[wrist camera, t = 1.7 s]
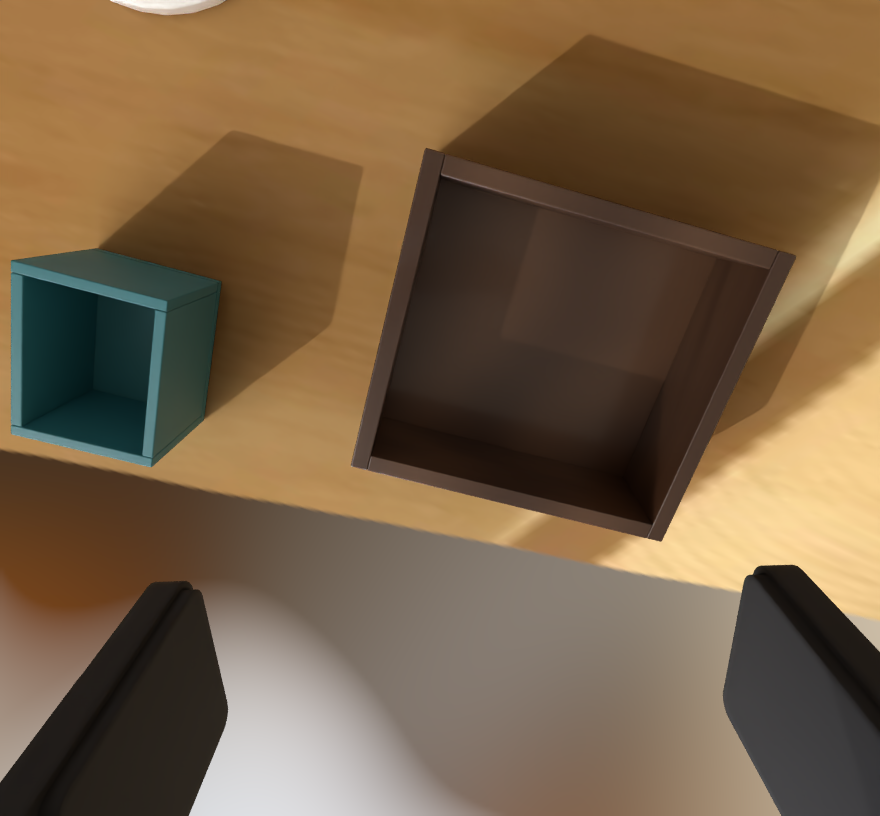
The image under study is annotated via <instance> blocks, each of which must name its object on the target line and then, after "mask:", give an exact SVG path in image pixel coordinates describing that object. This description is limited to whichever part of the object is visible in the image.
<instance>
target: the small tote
mask: <svg viewBox="0 0 880 816" xmlns="http://www.w3.org/2000/svg"><path fill="white" fill-rule="evenodd" d="M11 272H12V273H11V424H12V425H11V434H13V435H17V436H21V437H26V438H30V439H34V440H38V441H42V442H47V443H51V444H55V445H59V446H64V447H68V448H72V449H76V450H80V451H85V452H89V453H93V454H97V455H102V456H106V457H110V458H114V459H118V460H123V461H127V462H131V463H135V464H140V465H144V466H148V467H152V466H154V465H155V464H156V463H157V462H158V461H159V460H160V459H161V458H162V457H163V456H165V455H166V454H167V453H168V452H169V451H170V450H171V449H172V448H173V447H175V446H176V445H177V444H178V443H179V442H180V441H181V440H182V439H183V438H185V437H186V436H187V435H188V434H189V433H190V432H191V431H192V430H193V429H194V428H196V427H197V426H198V425H199V424H200V423H201V422H202V421H203V420H204V415H205V407H206V399H207V392H208V384H209V376H210V368H211V361H212V353H213V345H214V337H215V329H216V322H217V314H218V306H219V298H220V291H221V283H222V282H221V281H219V280H215V279H211V278H207V277H204V276H200V275H196V274H192V273H188V272H185V271H181V270H177V269H173V268H170V267H166V266H162V265H158V264H154V263H151V262H147V261H143V260H139V259H135V258H132V257H128V256H124V255H120V254H117V253H113V252H109V251H105V250H101V249H98V248H95V249H89V250H81V251H74V252H67V253H60V254H53V255H46V256H39V257H32V258H24V259H17V260H12V261H11Z"/></svg>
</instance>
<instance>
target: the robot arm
mask: <svg viewBox="0 0 880 816" xmlns="http://www.w3.org/2000/svg"><path fill="white" fill-rule="evenodd" d="M111 1H112V2H115V3H118V4H121V5H124V6H126V7H129V8H132V9H135V10H137V11H141V12H148V13H155V14H162V15H175V14H187V13H195V12H198V11H201V10H204V9H207V8H210V7H213V6H216V5H219V4H221V3H223V2H224V1H226V0H111ZM723 701H724V706H725V710H726V713H727V715H728V717H729V719H730V721H731V723H732V725H733V727H734V729H735V731H736V732H737V734H738V736H739V738H740V740H741V741H742V743H743V745H744V747H745V749H746V751H747V753H748V755H749V756H750V758H751V760H752V762H753V764H754V766H755V768H756V769H757V771H758V773H759V775H760V777H761V779H762V780H763V782H764V784H765V786H766V788H767V790H768V792H769V793H770V795H771V797H772V799H773V801H774V803H775V805H776V806H777V808H778V810H779V812H780V814H781V816H880V652H879V651H878V650H877V649H876V648H875V646H874V645H873V644H872V643H871V642H870V641H869V640H868V639H867V638H866V637H865V636H864V635H863V634H862V633H861V632H860V631H859V630H858V629H857V627H856V626H855V625H854V624H853V623H852V622H851V621H850V620H849V619H848V618H847V617H846V616H845V615H844V614H843V613H842V612H841V610H840V609H839V608H838V607H837V606H836V605H835V604H834V603H833V602H832V601H831V600H830V599H829V598H828V597H827V596H826V595H825V594H824V592H823V591H822V590H821V589H820V588H819V587H818V586H817V585H816V584H815V583H814V582H813V581H812V580H811V579H810V578H809V577H808V576H807V575H806V573H805V572H804V571H803V570H802V569H800V568H799V567H798V566H795V565H770V566H759V567H757V568H756V569H755V570H754V573H753V575H748V576H747V577H746V578H745V580H744V584H743V590H742V595H741V600H740V606H739V611H738V616H737V622H736V627H735V632H734V637H733V643H732V649H731V654H730V659H729V664H728V670H727V675H726V680H725V685H724V690H723ZM227 714H228V705H227V699H226V695H225V691H224V686H223V682H222V678H221V673H220V669H219V665H218V660H217V656H216V652H215V647H214V643H213V639H212V635H211V630H210V626H209V622H208V617H207V613H206V608H205V605H204V600H203V596H202V593H201V592H200V591H199V590H193V588H192V585H191V584H190V583H189V582H187V581H179V582H178V581H174V582H154V583H152V584H150V585H149V586H148V587H147V589H146V590H145V591H144V593H143V594H142V595H141V597H140V598H139V599H138V601H137V602H136V603H135V605H134V606H133V607H132V609H131V610H130V611H129V613H128V614H127V615H126V617H125V618H124V619H123V621H122V622H121V623H120V625H119V626H118V628H117V629H116V630H115V631H114V633H113V634H112V635H111V637H110V638H109V639H108V641H107V642H106V643H105V645H104V646H103V647H102V649H101V650H100V651H99V653H98V654H97V655H96V657H95V658H94V659H93V661H92V662H91V664H90V665H89V666H88V667H87V669H86V670H85V671H84V673H83V674H82V675H81V676H80V677H79V679H78V680H77V681H76V683H75V684H74V685H73V687H72V688H71V689H70V690H69V692H68V693H67V695H66V696H65V697H64V698H63V700H62V702H60V704H59V705H58V706H57V708H56V709H55V710H54V712H53V713H52V714H51V716H50V717H49V718H48V720H47V721H46V722H45V724H44V725H43V726H42V728H41V729H40V730H39V732H38V733H37V734H36V736H35V737H34V739H33V740H32V741H31V742H30V744H29V745H28V746H27V748H26V749H25V750H24V752H23V753H22V754H21V756H20V757H19V759H18V760H17V761H16V762H15V764H14V765H13V766H12V768H11V769H10V770H9V772H8V773H7V774H6V776H5V777H4V778H3V780H2V781H1V782H0V816H189V813H190V811H191V809H192V806H193V804H194V801H195V799H196V796H197V794H198V791H199V789H200V787H201V784H202V782H203V779H204V777H205V774H206V772H207V770H208V767H209V765H210V762H211V760H212V757H213V755H214V753H215V750H216V748H217V745H218V742H219V740H220V738H221V735H222V733H223V731H224V728H225V725H226V721H227Z"/></svg>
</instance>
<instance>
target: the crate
mask: <svg viewBox="0 0 880 816" xmlns="http://www.w3.org/2000/svg"><path fill="white" fill-rule="evenodd" d="M795 259H796V256H795V255H793V254H789V253H786V252H782V251H778V250H775V249H772V248H768V247H765V246H762V245H758V244H755V243H751V242H748V241H744V240H741V239H738V238H734V237H731V236H727V235H724V234H720V233H717V232H713V231H710V230H707V229H703V228H700V227H696V226H693V225H689V224H686V223H682V222H679V221H676V220H672V219H669V218H665V217H662V216H658V215H655V214H652V213H648V212H645V211H641V210H638V209H634V208H631V207H627V206H624V205H621V204H617V203H614V202H610V201H607V200H603V199H600V198H597V197H593V196H590V195H586V194H583V193H579V192H576V191H572V190H569V189H566V188H562V187H559V186H555V185H552V184H548V183H545V182H541V181H538V180H535V179H531V178H528V177H524V176H521V175H517V174H514V173H511V172H507V171H504V170H500V169H497V168H493V167H490V166H486V165H483V164H480V163H476V162H473V161H469V160H466V159H462V158H459V157H456V156H452V155H449V154H446V155H445V154H444V153H442V152H438V151H435V150H432V149H428V148H426V149H425V151H424V155H423V160H422V164H421V168H420V172H419V177H418V181H417V185H416V189H415V194H414V198H413V202H412V207H411V211H410V215H409V219H408V224H407V228H406V232H405V236H404V241H403V245H402V249H401V254H400V258H399V262H398V266H397V271H396V275H395V279H394V283H393V288H392V292H391V296H390V300H389V305H388V309H387V313H386V318H385V322H384V326H383V330H382V335H381V339H380V343H379V347H378V352H377V356H376V360H375V364H374V369H373V373H372V377H371V382H370V386H369V390H368V394H367V399H366V403H365V407H364V411H363V416H362V420H361V424H360V429H359V433H358V437H357V441H356V446H355V450H354V454H353V458H352V463H351V466H352V467H356V468H360V469H365V470H367V469H368V471H372V472H376V473H380V474H385V475H389V476H393V477H397V478H401V479H405V480H409V481H413V482H417V483H421V484H426V485H430V486H434V487H438V488H442V489H446V490H450V491H454V492H458V493H463V494H467V495H471V496H475V497H479V498H483V499H487V500H491V501H495V502H499V503H504V504H508V505H512V506H516V507H520V508H524V509H528V510H532V511H536V512H541V513H545V514H549V515H553V516H557V517H561V518H565V519H569V520H573V521H578V522H582V523H586V524H590V525H594V526H598V527H602V528H606V529H610V530H614V531H619V532H623V533H627V534H631V535H635V536H639V537H643V538H648V539H652V540H656V541H660V542H661V541H662V540H663V538H664V535H665V533H666V531H667V529H668V527H669V525H670V523H671V521H672V519H673V516H674V514H675V512H676V510H677V508H678V506H679V504H680V502H681V500H682V497H683V495H684V493H685V491H686V489H687V487H688V485H689V483H690V481H691V478H692V476H693V474H694V472H695V470H696V468H697V466H698V464H699V462H700V459H701V457H702V455H703V453H704V451H705V449H706V447H707V445H708V443H709V440H710V438H711V436H712V434H713V432H714V430H715V428H716V426H717V424H718V421H719V419H720V417H721V415H722V413H723V411H724V409H725V407H726V405H727V402H728V400H729V398H730V396H731V394H732V392H733V390H734V388H735V386H736V383H737V381H738V379H739V377H740V375H741V373H742V371H743V369H744V367H745V364H746V362H747V360H748V358H749V356H750V354H751V352H752V350H753V348H754V345H755V343H756V341H757V339H758V337H759V335H760V333H761V331H762V329H763V326H764V324H765V322H766V320H767V318H768V316H769V314H770V312H771V310H772V307H773V305H774V303H775V301H776V299H777V297H778V295H779V293H780V291H781V288H782V286H783V284H784V282H785V280H786V278H787V276H788V274H789V272H790V269H791V267H792V265H793V263H794V261H795Z"/></svg>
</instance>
